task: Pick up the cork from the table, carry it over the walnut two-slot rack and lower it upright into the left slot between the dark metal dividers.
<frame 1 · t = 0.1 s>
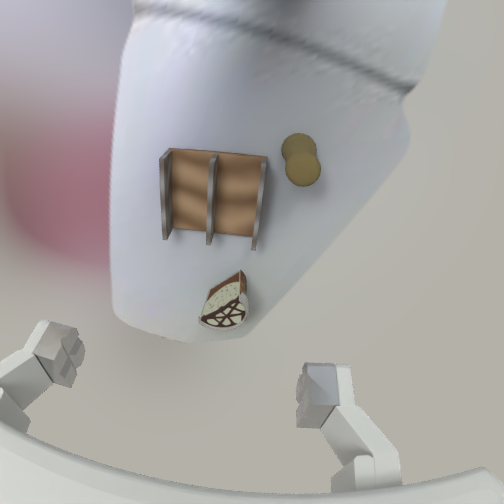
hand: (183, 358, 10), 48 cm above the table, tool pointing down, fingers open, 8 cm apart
slot rack: (214, 192, 59), on the table
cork: (298, 149, 54), on the table
food container: (233, 287, 73), on the table
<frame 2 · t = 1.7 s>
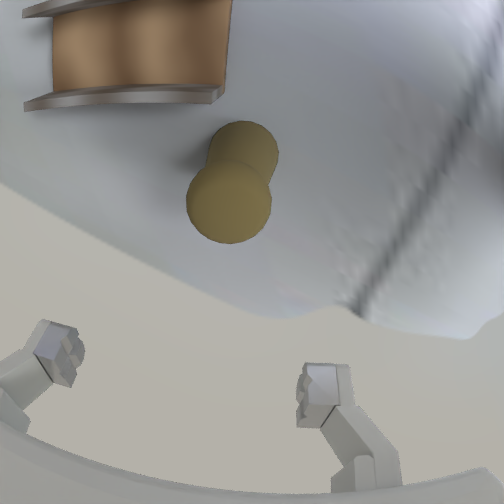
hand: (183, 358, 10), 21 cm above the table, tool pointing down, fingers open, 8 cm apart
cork: (243, 153, 27), on the table
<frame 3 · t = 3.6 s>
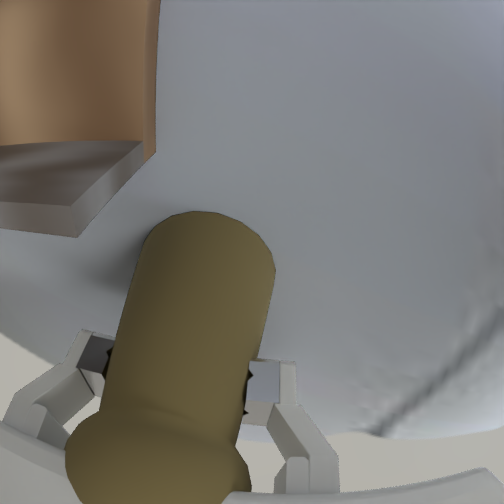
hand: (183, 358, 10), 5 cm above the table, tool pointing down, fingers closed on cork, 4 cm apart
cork: (207, 269, 14), on the table, touching gripper
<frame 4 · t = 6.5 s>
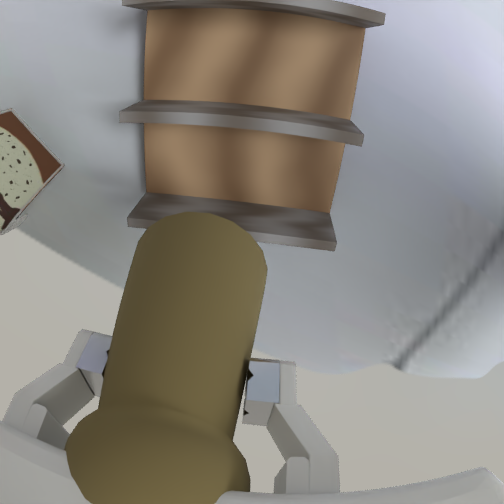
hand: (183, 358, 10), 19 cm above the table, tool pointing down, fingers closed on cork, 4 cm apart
slot rack: (245, 106, 24), on the table
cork: (199, 268, 15), point 15 cm above the table, touching gripper
food container: (26, 155, 27), on the table
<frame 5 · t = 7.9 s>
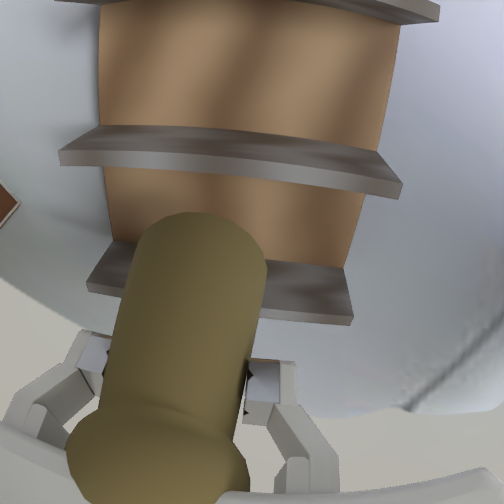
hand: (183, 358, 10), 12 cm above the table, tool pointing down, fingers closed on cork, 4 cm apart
slot rack: (234, 131, 18), on the table
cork: (199, 268, 15), point 7 cm above the table, touching gripper
when the fingers open (7 cm above the table, at t = 9.2 s): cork drops 1 cm, resting on slot rack.
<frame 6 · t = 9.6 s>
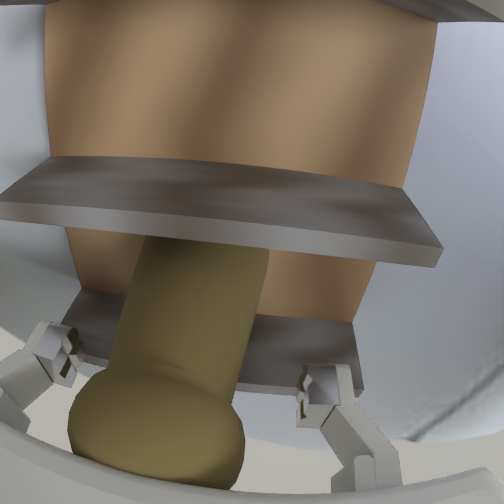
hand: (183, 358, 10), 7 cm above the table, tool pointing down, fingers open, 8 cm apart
slot rack: (218, 161, 14), on the table
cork: (206, 252, 16), point 1 cm above the table, touching slot rack
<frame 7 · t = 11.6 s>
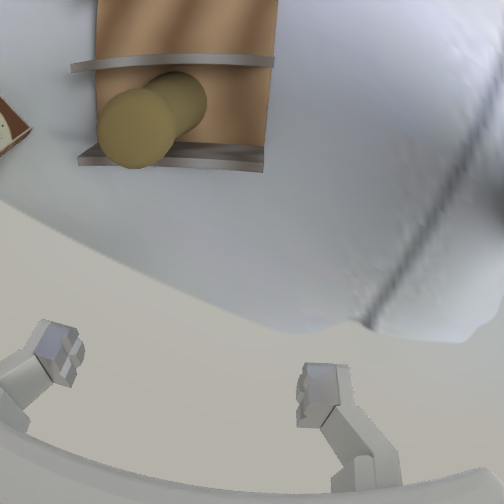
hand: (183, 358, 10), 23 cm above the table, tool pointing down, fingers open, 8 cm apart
slot rack: (181, 57, 24), on the table
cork: (174, 103, 26), point 1 cm above the table, touching slot rack
food container: (1, 123, 27), on the table
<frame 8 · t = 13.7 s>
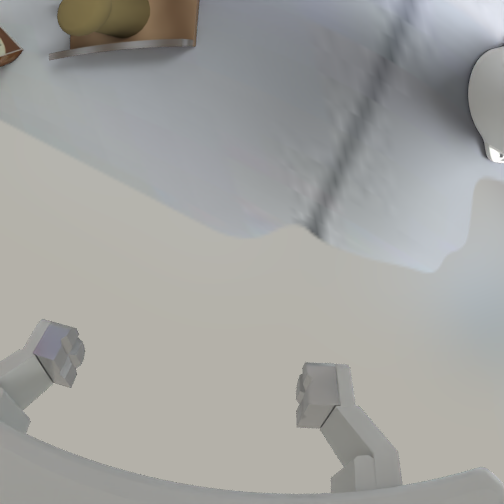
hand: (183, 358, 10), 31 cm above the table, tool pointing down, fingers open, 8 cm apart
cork: (126, 14, 27), point 1 cm above the table, touching slot rack
food container: (0, 50, 28), on the table
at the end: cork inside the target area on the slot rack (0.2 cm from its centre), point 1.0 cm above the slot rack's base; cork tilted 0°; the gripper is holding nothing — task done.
